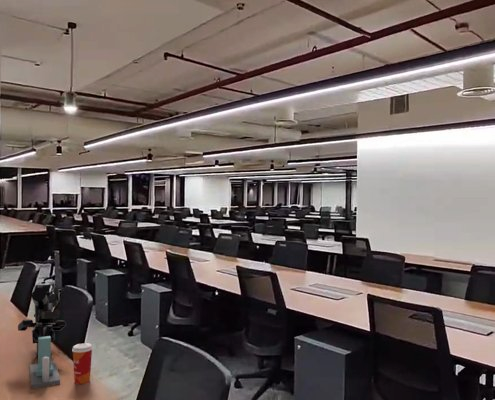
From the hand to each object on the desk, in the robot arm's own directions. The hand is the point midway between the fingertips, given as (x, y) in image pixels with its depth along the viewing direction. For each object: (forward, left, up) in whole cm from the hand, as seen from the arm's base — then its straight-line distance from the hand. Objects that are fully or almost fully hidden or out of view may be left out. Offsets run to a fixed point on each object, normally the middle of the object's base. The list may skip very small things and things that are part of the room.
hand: (43, 344), depth 189 cm
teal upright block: (+15, 0, -8) cm, 17 cm away
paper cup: (+24, +13, -10) cm, 29 cm away
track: (+11, 0, -10) cm, 14 cm away
